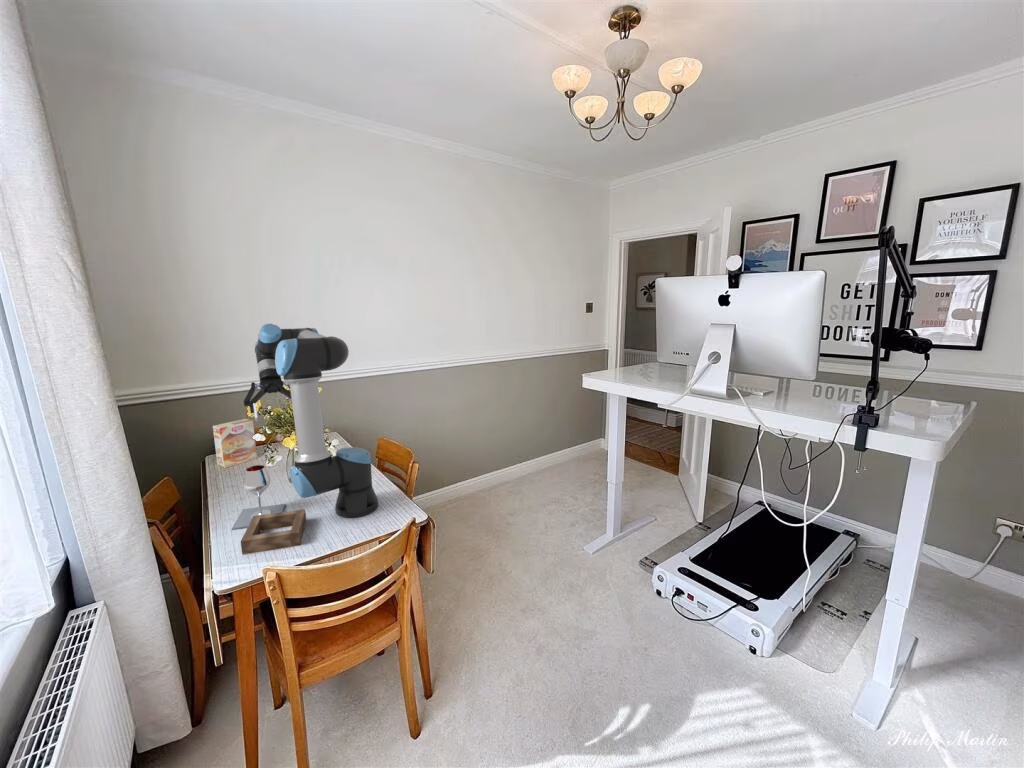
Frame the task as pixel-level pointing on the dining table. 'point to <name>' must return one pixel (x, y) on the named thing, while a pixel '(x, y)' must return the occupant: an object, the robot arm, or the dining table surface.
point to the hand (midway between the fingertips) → (277, 417)
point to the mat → (246, 514)
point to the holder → (274, 540)
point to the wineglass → (257, 484)
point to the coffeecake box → (234, 442)
